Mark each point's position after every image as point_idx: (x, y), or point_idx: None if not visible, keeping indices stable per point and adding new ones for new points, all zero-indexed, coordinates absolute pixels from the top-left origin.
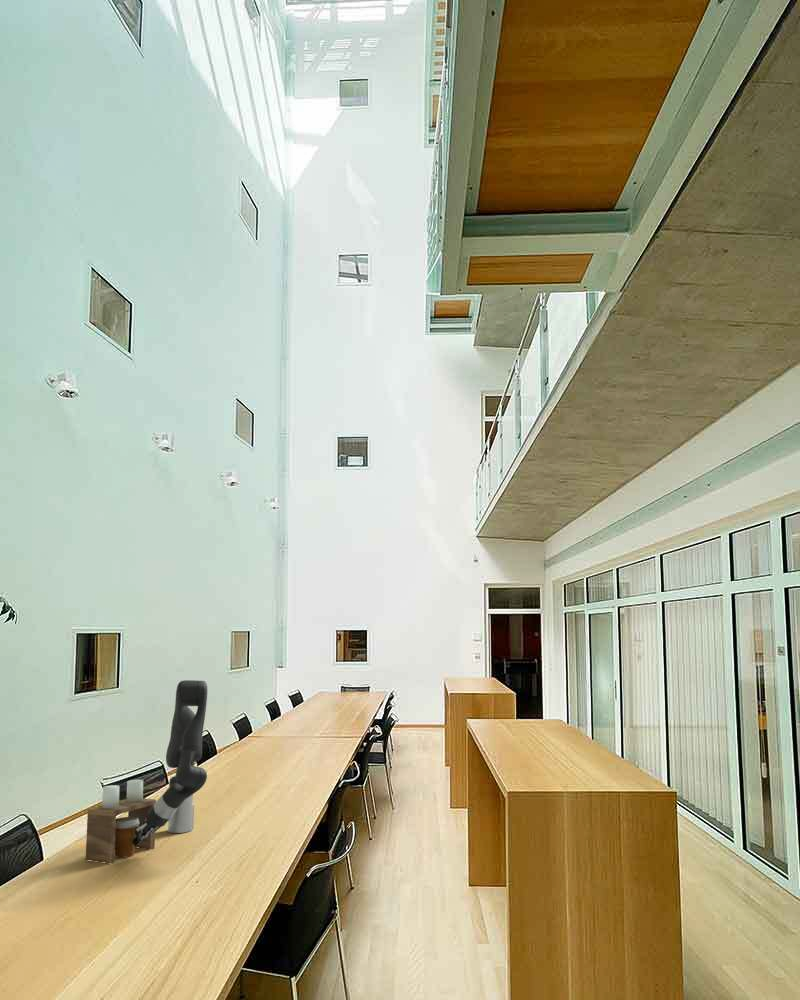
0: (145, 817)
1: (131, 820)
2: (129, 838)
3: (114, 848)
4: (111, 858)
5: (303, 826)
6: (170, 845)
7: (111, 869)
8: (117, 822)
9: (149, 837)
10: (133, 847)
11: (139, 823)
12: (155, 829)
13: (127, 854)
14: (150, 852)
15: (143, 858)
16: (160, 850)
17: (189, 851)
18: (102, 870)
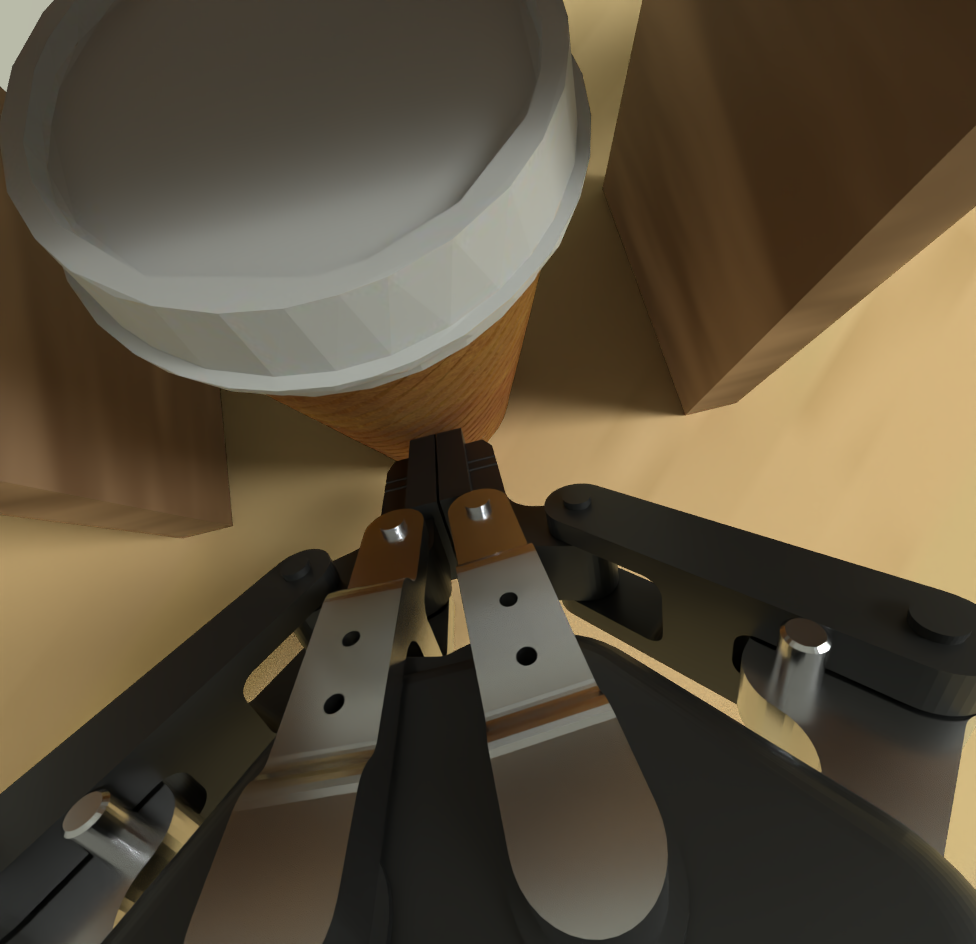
0: (861, 26)
1: (353, 169)
2: (347, 429)
3: (128, 509)
4: (166, 529)
5: None
6: (911, 429)
7: (71, 704)
8: (8, 146)
9: (726, 345)
10: None
11: (737, 62)
12: (688, 669)
13: (399, 459)
14: (633, 492)
15: (465, 624)
16: (740, 508)
17: (958, 821)
18: (19, 661)
